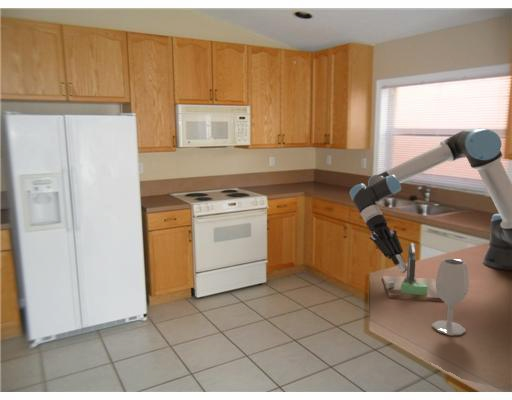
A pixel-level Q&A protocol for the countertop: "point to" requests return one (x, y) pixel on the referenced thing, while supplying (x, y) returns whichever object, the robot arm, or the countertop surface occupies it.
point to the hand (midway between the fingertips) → (404, 271)
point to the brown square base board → (396, 293)
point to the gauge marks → (410, 287)
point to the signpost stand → (411, 264)
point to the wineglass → (451, 292)
